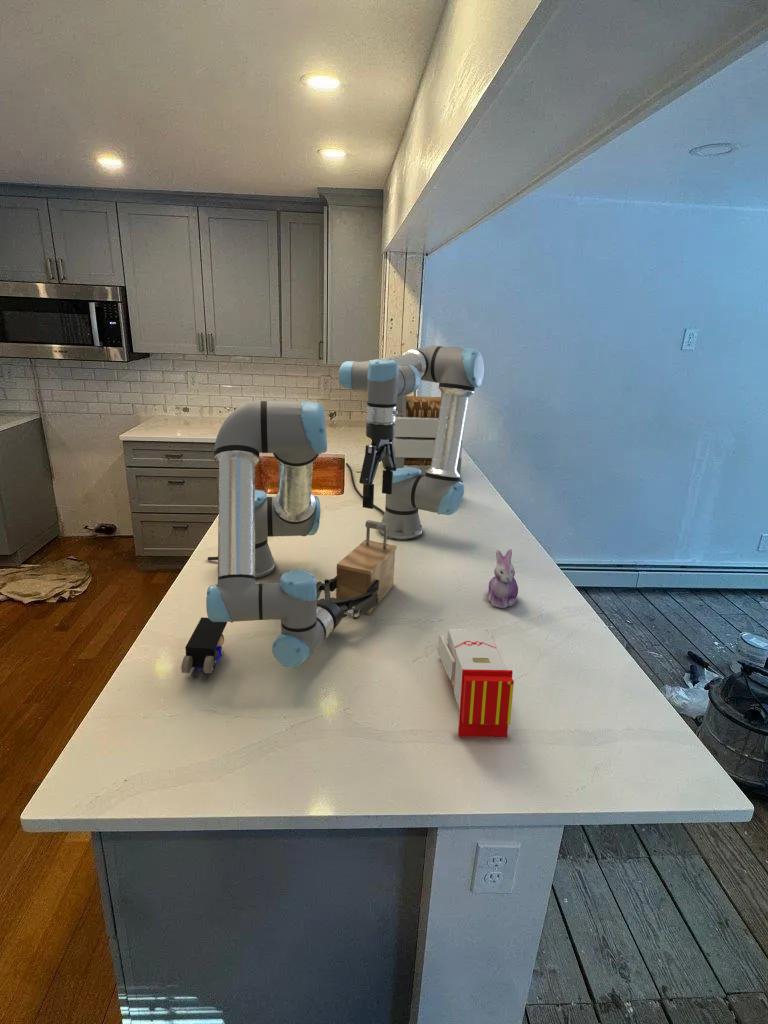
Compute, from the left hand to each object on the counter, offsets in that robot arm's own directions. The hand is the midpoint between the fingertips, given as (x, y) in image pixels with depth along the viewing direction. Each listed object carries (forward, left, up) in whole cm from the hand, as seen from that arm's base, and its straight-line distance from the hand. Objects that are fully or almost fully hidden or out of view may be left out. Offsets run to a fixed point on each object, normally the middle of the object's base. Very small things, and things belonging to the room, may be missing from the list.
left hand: (359, 580), depth 150 cm
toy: (+36, -24, -7) cm, 44 cm away
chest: (0, +5, -7) cm, 8 cm away
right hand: (0, +11, +19) cm, 22 cm away
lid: (0, +5, +4) cm, 7 cm away
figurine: (+35, +18, -7) cm, 40 cm away
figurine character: (-19, -39, -7) cm, 44 cm away
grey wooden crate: (-25, +130, -7) cm, 133 cm away
